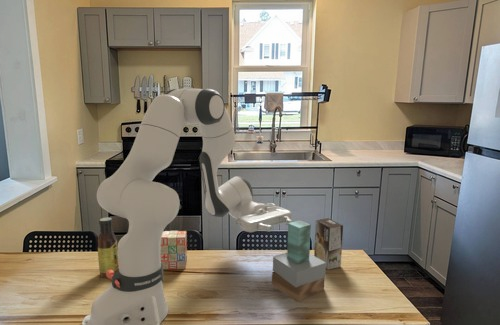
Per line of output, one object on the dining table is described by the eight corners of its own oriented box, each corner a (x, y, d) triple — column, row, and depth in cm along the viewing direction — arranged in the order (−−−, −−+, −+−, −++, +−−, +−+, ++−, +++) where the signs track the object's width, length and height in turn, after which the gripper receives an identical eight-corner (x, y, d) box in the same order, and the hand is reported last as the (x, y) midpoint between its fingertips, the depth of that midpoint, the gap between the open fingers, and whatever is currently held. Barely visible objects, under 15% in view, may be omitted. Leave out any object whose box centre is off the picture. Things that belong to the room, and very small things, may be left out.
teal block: (297, 264, 106) (299, 227, 103) (287, 258, 109) (288, 223, 107) (309, 260, 108) (310, 224, 106) (298, 254, 112) (299, 220, 110)
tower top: (296, 287, 102) (296, 272, 101) (272, 270, 112) (273, 256, 111) (325, 277, 108) (326, 262, 107) (300, 262, 118) (301, 248, 117)
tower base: (298, 303, 102) (299, 287, 101) (271, 286, 111) (272, 272, 111) (323, 289, 110) (324, 275, 109) (296, 275, 119) (297, 261, 118)
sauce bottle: (119, 276, 116) (116, 221, 112) (99, 280, 113) (95, 223, 110) (118, 267, 122) (115, 215, 118) (99, 271, 119) (95, 217, 115)
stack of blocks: (124, 271, 120) (123, 238, 117) (129, 262, 126) (127, 231, 124) (185, 269, 122) (185, 236, 120) (187, 261, 128) (186, 230, 126)
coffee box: (341, 266, 125) (344, 225, 122) (327, 270, 122) (330, 228, 119) (326, 256, 133) (328, 217, 130) (312, 259, 130) (314, 219, 127)
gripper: (232, 212, 118) (257, 223, 108) (276, 202, 131) (302, 211, 120) (232, 229, 120) (257, 242, 109) (275, 217, 132) (301, 228, 121)
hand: (281, 226), depth 114 cm, fingers open, 8 cm apart
